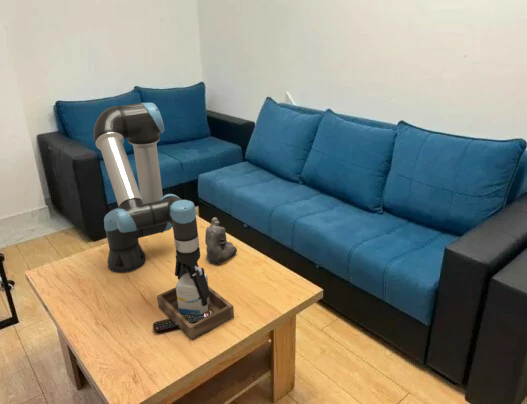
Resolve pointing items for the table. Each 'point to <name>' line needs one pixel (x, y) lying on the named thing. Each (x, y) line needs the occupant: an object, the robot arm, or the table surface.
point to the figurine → (218, 244)
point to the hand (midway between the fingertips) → (194, 303)
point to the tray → (195, 330)
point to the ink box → (188, 296)
